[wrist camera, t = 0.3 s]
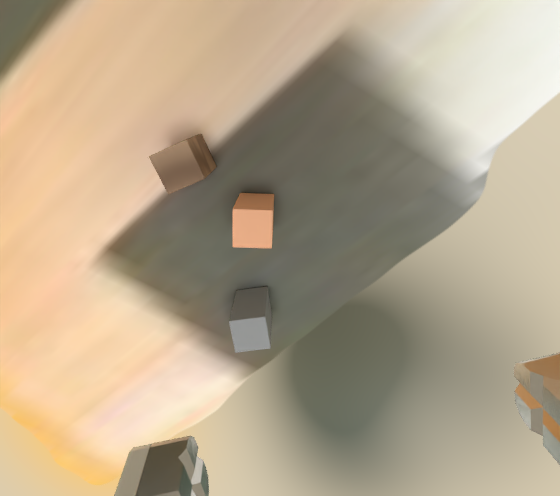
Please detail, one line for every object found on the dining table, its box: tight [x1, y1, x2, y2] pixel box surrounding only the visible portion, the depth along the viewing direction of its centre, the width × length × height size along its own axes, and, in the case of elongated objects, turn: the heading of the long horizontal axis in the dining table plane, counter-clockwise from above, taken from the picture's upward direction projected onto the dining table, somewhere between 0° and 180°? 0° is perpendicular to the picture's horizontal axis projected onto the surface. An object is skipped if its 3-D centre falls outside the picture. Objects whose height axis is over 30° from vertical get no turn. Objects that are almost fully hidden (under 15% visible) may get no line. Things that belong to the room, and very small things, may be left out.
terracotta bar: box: [233, 193, 274, 248], centre depth 52 cm, size 4×4×9 cm
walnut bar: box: [149, 134, 217, 194], centre depth 50 cm, size 4×4×9 cm
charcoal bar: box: [229, 286, 272, 353], centre depth 57 cm, size 4×4×9 cm
